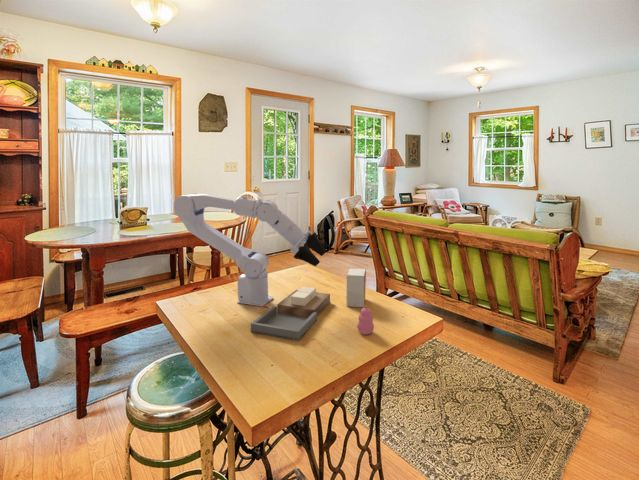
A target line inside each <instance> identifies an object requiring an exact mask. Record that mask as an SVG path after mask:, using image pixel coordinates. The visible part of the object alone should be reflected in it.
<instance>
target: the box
mask: <svg viewBox="0 0 639 480" xmlns="http://www.w3.org/2000/svg"><path fill="white" fill-rule="evenodd" d="M317 317H318V316H317V313H316V312H313V313H312V314H311V315H310V316H309V317H308V318H306V317H300V316H293V315H287V314H281V313H277V305H276V306H274V305H273V306H271V307H270V308H269V309H267V311H265V312H264V313H263V314H261V315H260V316H258V317H257V318H256V319H255V320H253V321H252V322H251V323H250V333H253V334H257V335H265V336H270V337H276V338H282V339H286V340H292V341H296V342H297V341H298V342H299V341H300V340H301V339H302V337H304V335H306V333H307V332H308V331H309V330H310V329H311V328H312V327H313V326H314V324H315V323H316V322H317V321H318V318H317Z"/></svg>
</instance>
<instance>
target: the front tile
mask: <svg viewBox="0 0 639 480" xmlns="http://www.w3.org/2000/svg"><path fill="white" fill-rule="evenodd" d="M308 302H310V293H305V292H298V291H297V292H296V293H294V294H293V295H292V296H291V304H294V305H301V306H305V305H306V304H307V303H308Z"/></svg>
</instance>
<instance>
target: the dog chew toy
mask: <svg viewBox="0 0 639 480" xmlns="http://www.w3.org/2000/svg"><path fill="white" fill-rule="evenodd" d="M373 321H374V316H373V315H372V310H371V309H370V308H369V307H367V306H364V307H362V308H361V309H360V314H359V315H358V321H357V322H358V323H357V325H356V328H357V331H358V332H359V333H360V334H361V335H370V334H372V333H373V331H374V328H375V325H374V322H373Z"/></svg>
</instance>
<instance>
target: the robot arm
mask: <svg viewBox="0 0 639 480" xmlns="http://www.w3.org/2000/svg"><path fill="white" fill-rule="evenodd" d="M205 208H216V209H222V210H223V209H224V210H231V211H233V212H234V213H235V215H236V216H243V217H247V218H252V219H253V218H254V219H257V218H258V220H259V221H260V222H265V223H267V224H268V225H269V226H270V227H271V228H272V229H273V230H275V232H277V234H279V235H280V236H281V237H282V238H283V239H284V240H285V241H287V242H288V244H290V245H291V246H292V248H291V249H290V250H289V252H290V253H291V254H292V255H294V256H293V258H294V259H295V260H300V261H304V262H306V263H308V264H309V265H312V266H313V267H317V266H318V265H319V263H320V262H321V261H320V260H319V259H318V258H317V256H316V255H315V254H314V253H313V252H312V251H314V252H315V253H316V254H318V255H319V256H321V257H323V256H324V255H325V254H326V253H327V251H326V249H325V248H324V246H323V245H322V243H321V241H320V240H319V237H318V235H317V233H316V232H315V231H314V232H313V233H312V231H310V229H307V230H306V231H304V230H303V229H302V228H301V227H299V226H298V225H297V224H296V223H295V222H294V221H293V220H292V219H291V218H290V217H288V216H287V215H286V214H285V213H283V212H282V211H281V210H280V209H279V208H278V206H277V204H276V202H274V201H272V200H269V199H267V200H264V201H263V199H262V198H258V199H255V198H249V197H248V195H242V196H238V197H237V198H236V199H231V198H227V197H224V196H223V197H222V196H217V195H213V194H208V193H197V192H194V193H190V194H186V195H185V194H184V195H178V196H177V197H176V198H175V199H174V201H173V211H174V215H175V216H177V217H178V218H179V219H180V221H181V222H182V224H183V225H184V227H185V228H186V230H187V231H188V232H189V233H190V234H192V236H193V235H194V236H195V237H196V238H198V239H200V240H201V241H203V242H205V243H206V244H208V245H209V246H211V247H212V248H213V249H215V250H218V251H219V252H220V253H221V254H224V255H225V256H227V257H228V258H230V259H232V260H233V261H234V262H235V264H236V267H238V268H239V269H240V270H242V272H243V273H242V274H241V275H239V276H238V279H237V298H238V299H237V300H236V302H237V304H243V305H250V306H257V307H263V306H265V305H266V304H268V303H269V302H270V301H271V300H273V299H274V297H273V296H270V295H269V281H268V280H269V279H268V277H269V276H268V272H267V267H268V265H269V262H270V261H269V258H268V256H267V255H266V254H265V253H264V252H261V251H255V250H254V249H252V248H247V247H245V246H243V245H241V244H240V243H238V242H237V241H235V240H233V239H232V238H230V237H229V236H228V235H226V234H224V233H223V232H221V231H219V230H218V229H216V228H215V227H213V226H211V225H210V224H208V223H207V222H206V221H205V216H204V214H205ZM311 250H312V251H311Z"/></svg>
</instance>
